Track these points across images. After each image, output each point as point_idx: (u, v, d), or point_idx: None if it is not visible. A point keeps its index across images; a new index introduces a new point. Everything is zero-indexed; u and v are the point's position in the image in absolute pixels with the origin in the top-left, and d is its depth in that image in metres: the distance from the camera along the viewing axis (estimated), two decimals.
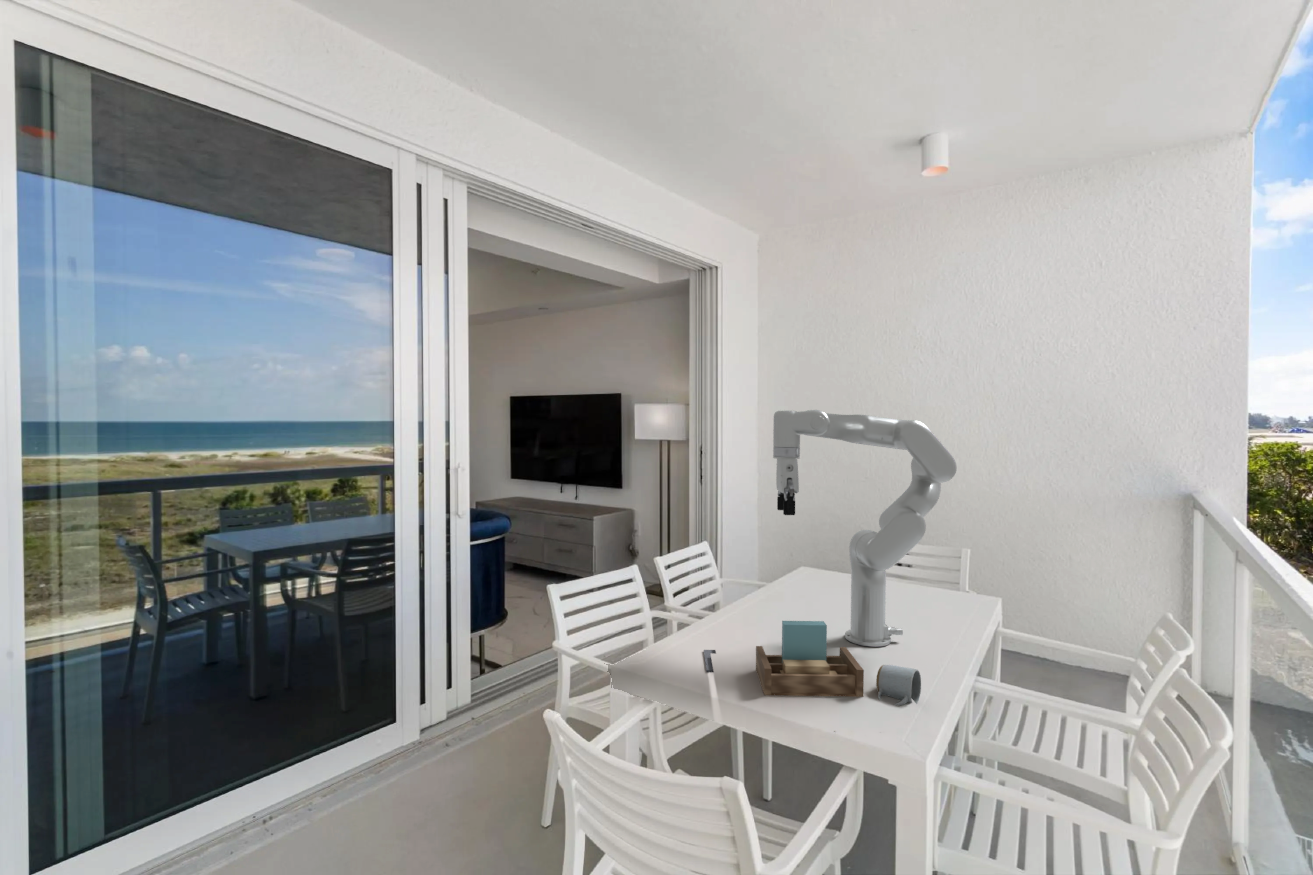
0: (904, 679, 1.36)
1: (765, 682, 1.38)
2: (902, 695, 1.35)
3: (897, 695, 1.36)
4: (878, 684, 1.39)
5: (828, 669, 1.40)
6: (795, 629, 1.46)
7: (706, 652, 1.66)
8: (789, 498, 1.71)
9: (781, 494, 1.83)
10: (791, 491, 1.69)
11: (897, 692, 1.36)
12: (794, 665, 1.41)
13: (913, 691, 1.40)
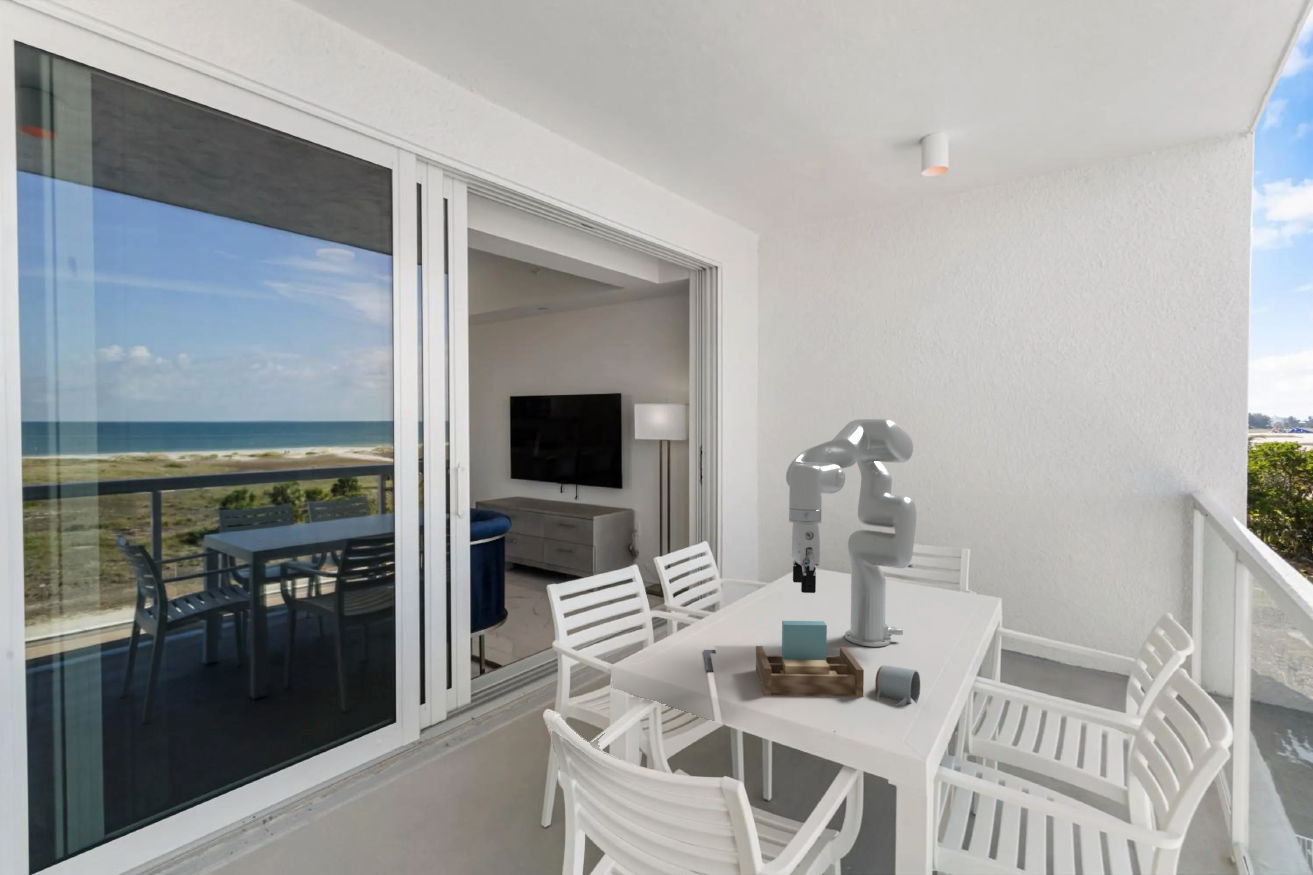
0: (903, 680, 1.35)
1: (765, 682, 1.38)
2: (901, 696, 1.35)
3: (896, 696, 1.36)
4: (877, 685, 1.38)
5: (828, 669, 1.40)
6: (795, 629, 1.46)
7: (706, 652, 1.66)
8: (809, 573, 1.41)
9: (798, 563, 1.52)
10: (811, 565, 1.39)
11: (896, 693, 1.35)
12: (794, 665, 1.41)
13: (912, 692, 1.39)
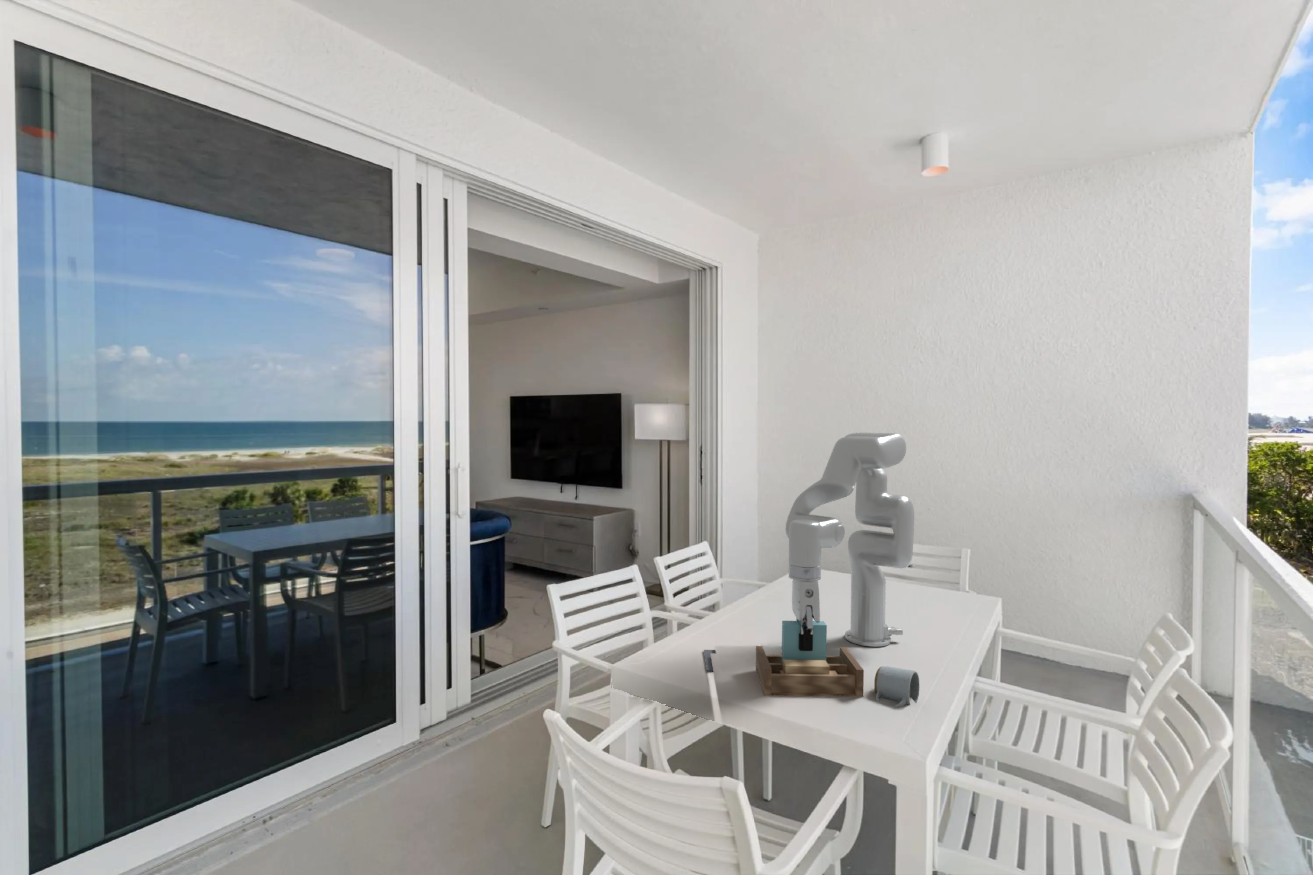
0: (902, 681, 1.35)
1: (765, 682, 1.38)
2: (900, 697, 1.34)
3: (895, 697, 1.35)
4: (876, 686, 1.38)
5: (828, 669, 1.40)
6: (795, 629, 1.46)
7: (706, 652, 1.66)
8: (806, 632, 1.44)
9: None
10: (809, 629, 1.42)
11: (895, 694, 1.35)
12: (794, 665, 1.41)
13: (911, 693, 1.39)
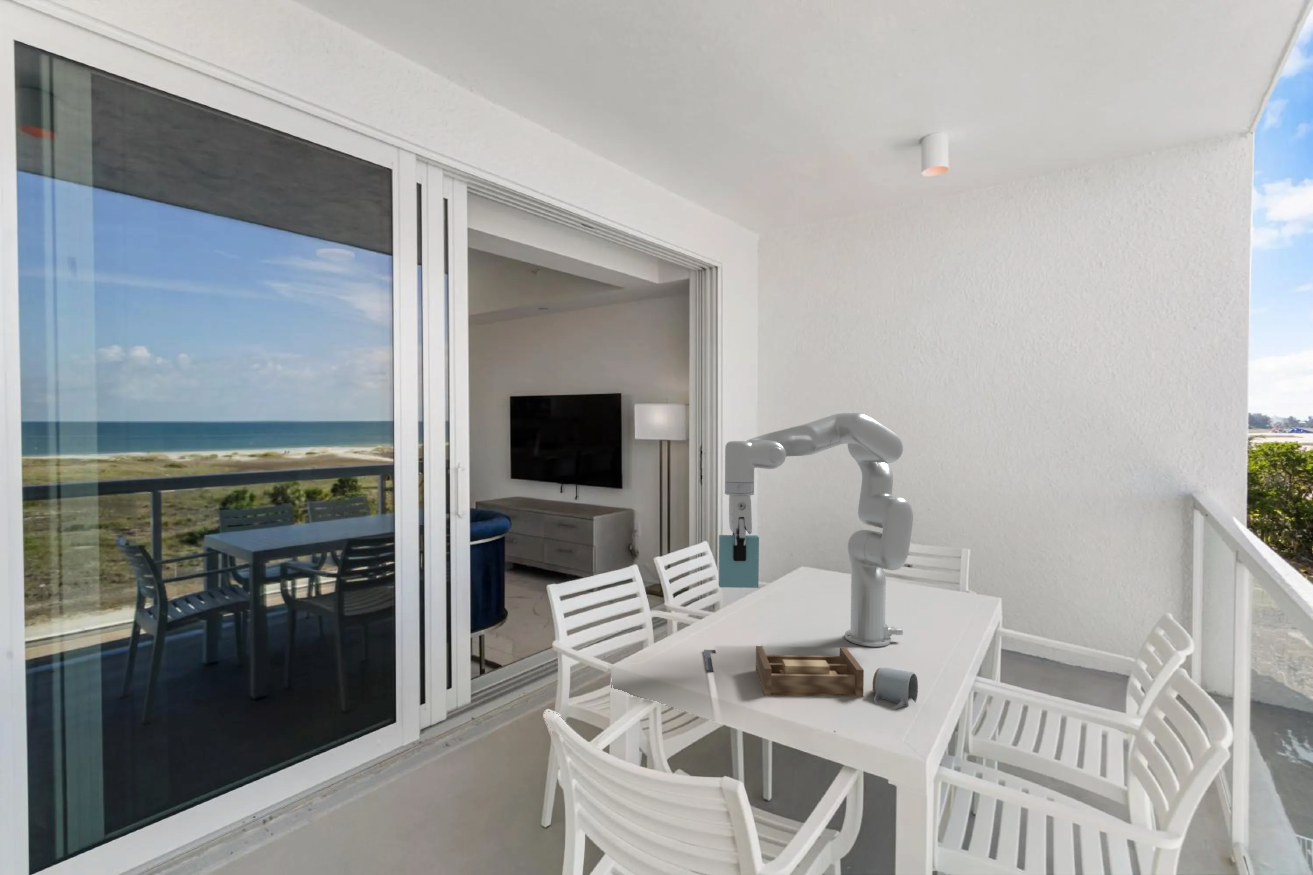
0: (900, 682, 1.34)
1: (765, 682, 1.38)
2: (898, 698, 1.33)
3: (893, 698, 1.34)
4: (874, 687, 1.37)
5: (828, 669, 1.40)
6: (729, 541, 1.58)
7: (706, 652, 1.66)
8: (739, 543, 1.56)
9: None
10: (741, 539, 1.54)
11: (893, 695, 1.34)
12: (794, 665, 1.41)
13: (910, 694, 1.38)
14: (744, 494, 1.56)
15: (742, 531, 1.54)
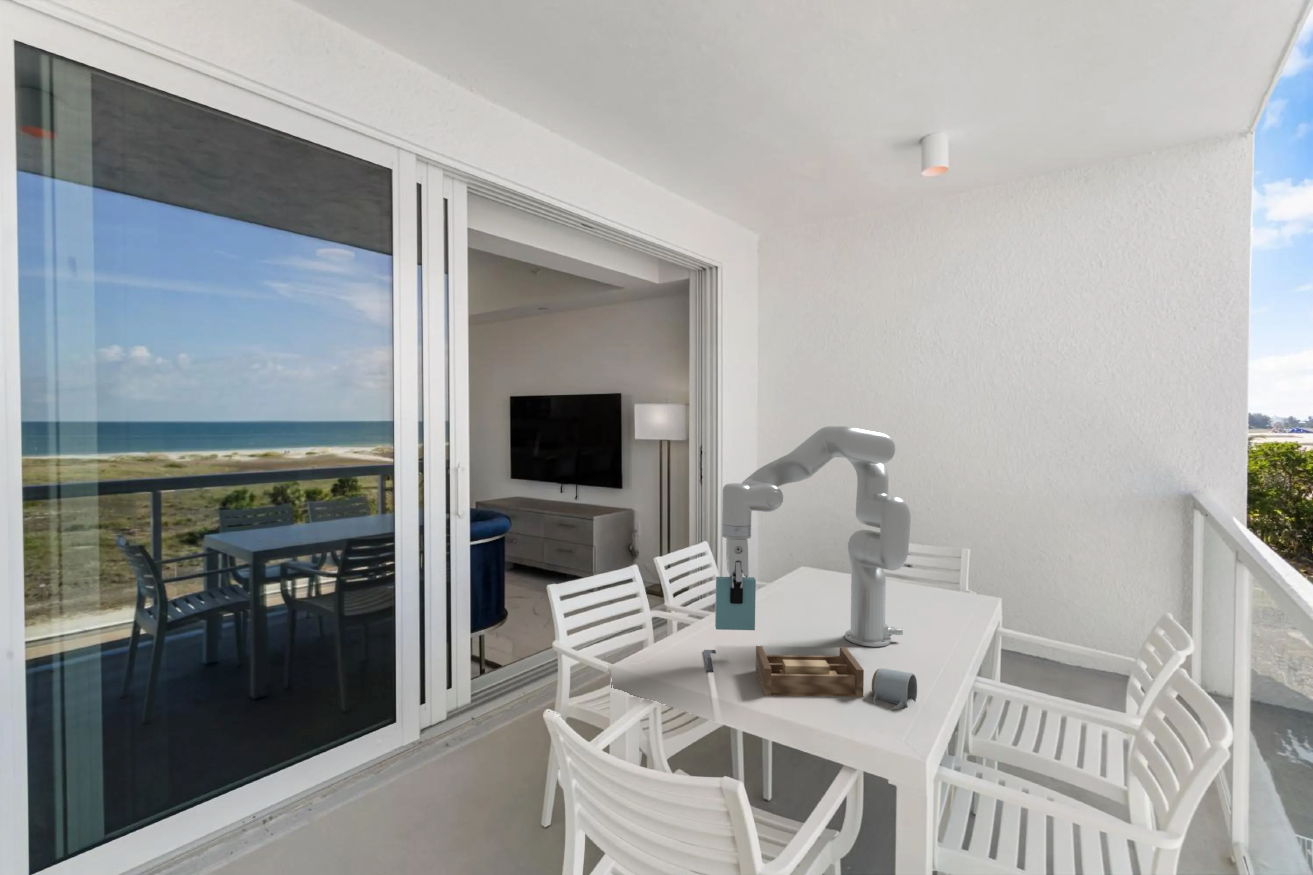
0: (899, 683, 1.33)
1: (765, 682, 1.38)
2: (898, 699, 1.33)
3: (892, 699, 1.34)
4: (873, 688, 1.37)
5: (828, 669, 1.40)
6: (726, 583, 1.59)
7: (706, 652, 1.66)
8: (736, 586, 1.57)
9: None
10: (737, 583, 1.55)
11: (892, 696, 1.34)
12: (794, 665, 1.41)
13: (909, 695, 1.38)
14: (741, 537, 1.57)
15: (739, 575, 1.54)
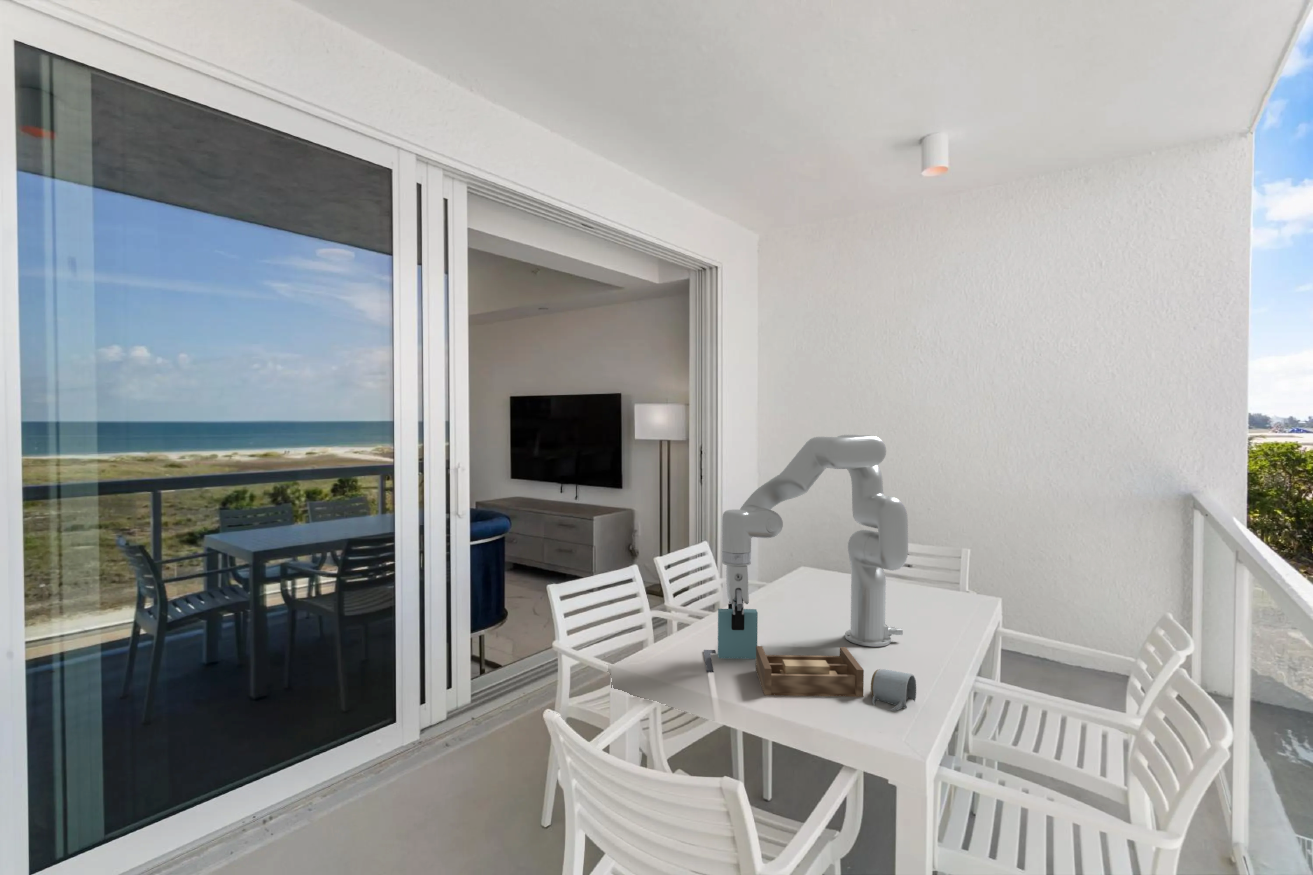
0: (898, 684, 1.33)
1: (765, 682, 1.38)
2: (897, 700, 1.33)
3: (892, 700, 1.33)
4: (872, 689, 1.36)
5: (828, 669, 1.40)
6: (728, 616, 1.59)
7: (706, 652, 1.66)
8: (737, 612, 1.54)
9: None
10: (739, 606, 1.53)
11: (892, 697, 1.33)
12: (794, 665, 1.41)
13: (908, 696, 1.37)
14: (741, 564, 1.57)
15: (739, 594, 1.54)
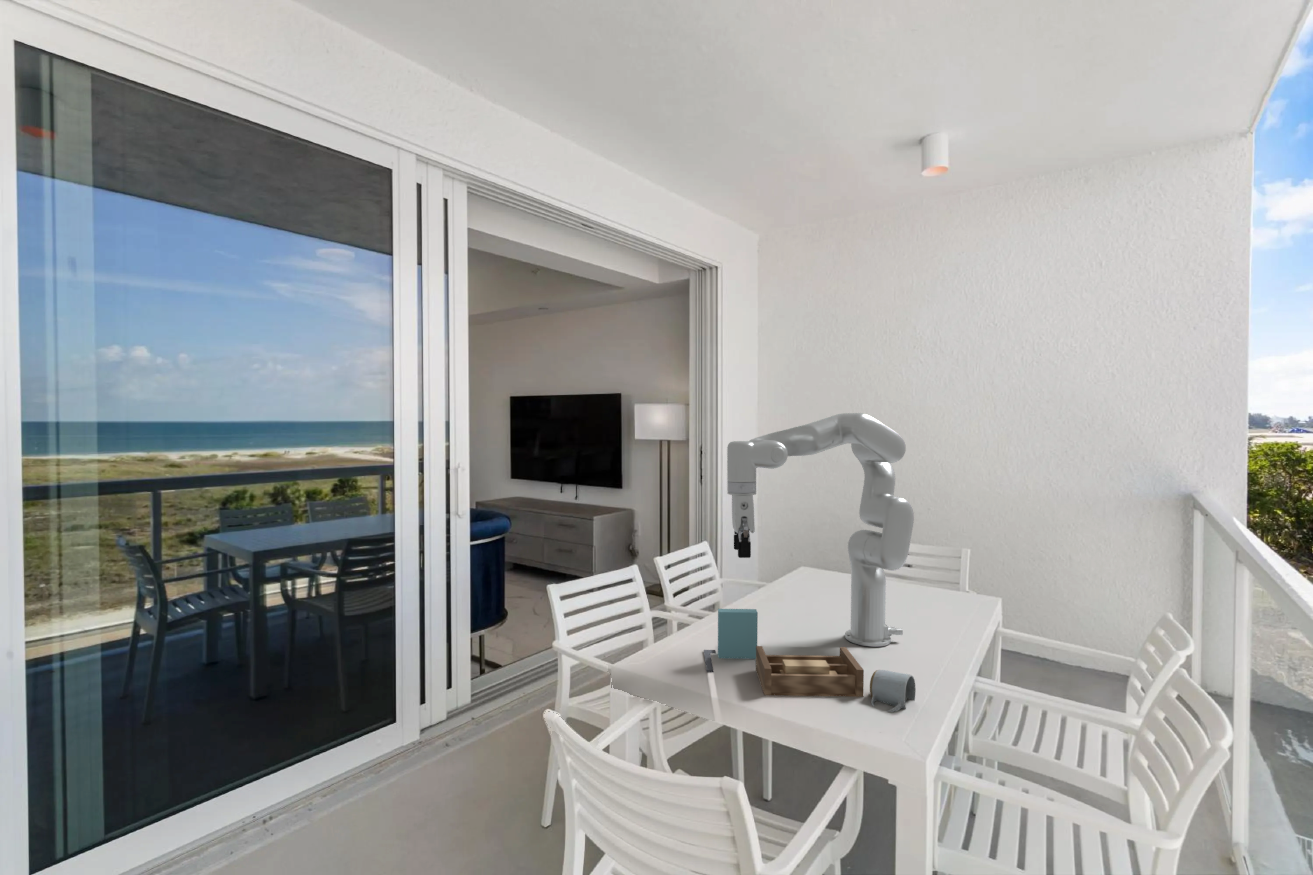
0: (898, 685, 1.32)
1: (765, 682, 1.38)
2: (896, 701, 1.32)
3: (891, 701, 1.33)
4: (871, 690, 1.36)
5: (828, 669, 1.40)
6: (728, 616, 1.59)
7: (706, 652, 1.66)
8: (743, 539, 1.55)
9: None
10: (745, 532, 1.53)
11: (891, 698, 1.33)
12: (794, 665, 1.41)
13: (907, 697, 1.37)
14: (746, 494, 1.57)
15: (745, 521, 1.55)
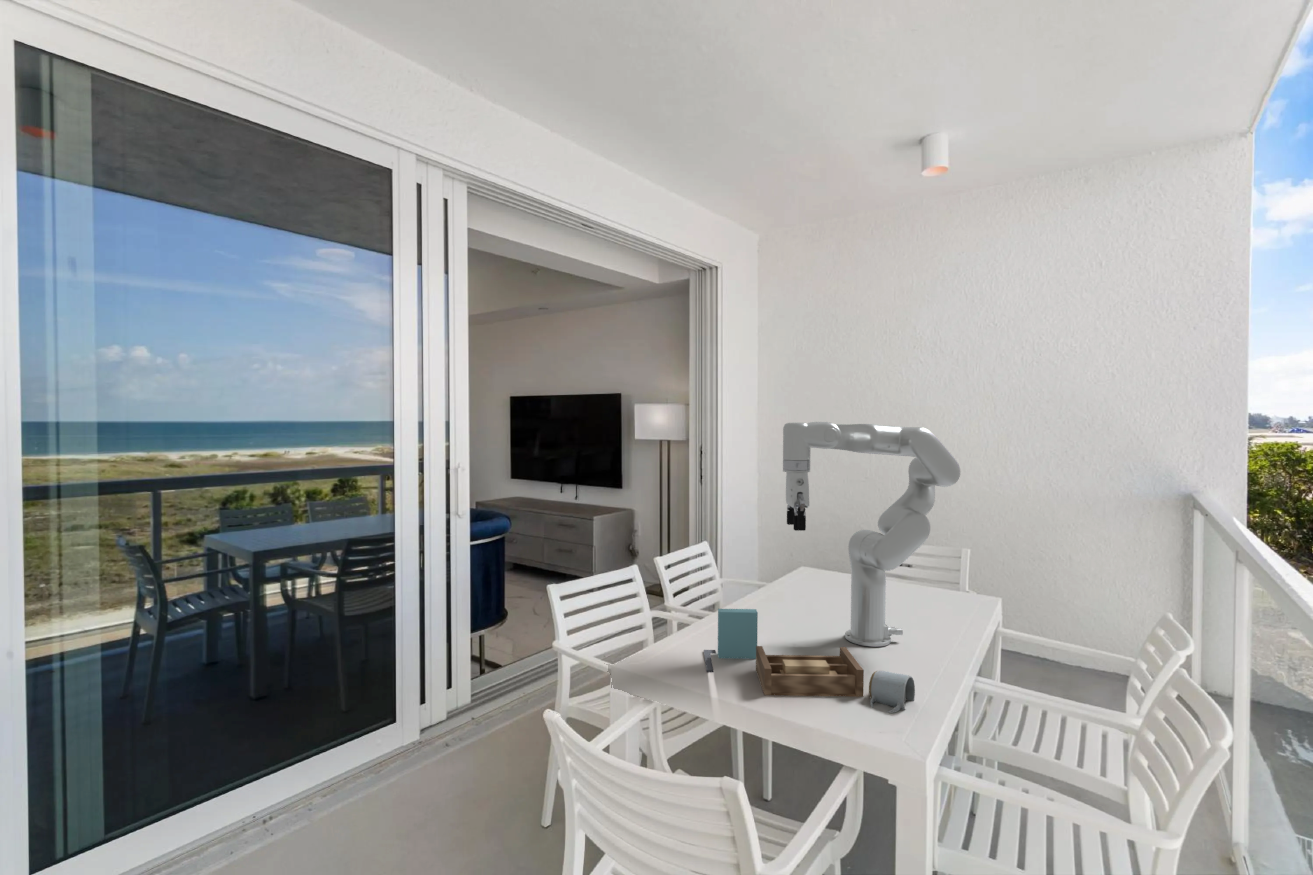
0: (897, 686, 1.32)
1: (765, 682, 1.38)
2: (895, 702, 1.32)
3: (890, 702, 1.33)
4: (870, 691, 1.35)
5: (828, 669, 1.40)
6: (728, 616, 1.59)
7: (706, 652, 1.66)
8: (799, 513, 1.66)
9: (791, 508, 1.78)
10: (802, 506, 1.65)
11: (890, 699, 1.32)
12: (794, 665, 1.41)
13: (907, 698, 1.36)
14: (802, 471, 1.69)
15: (801, 496, 1.66)
